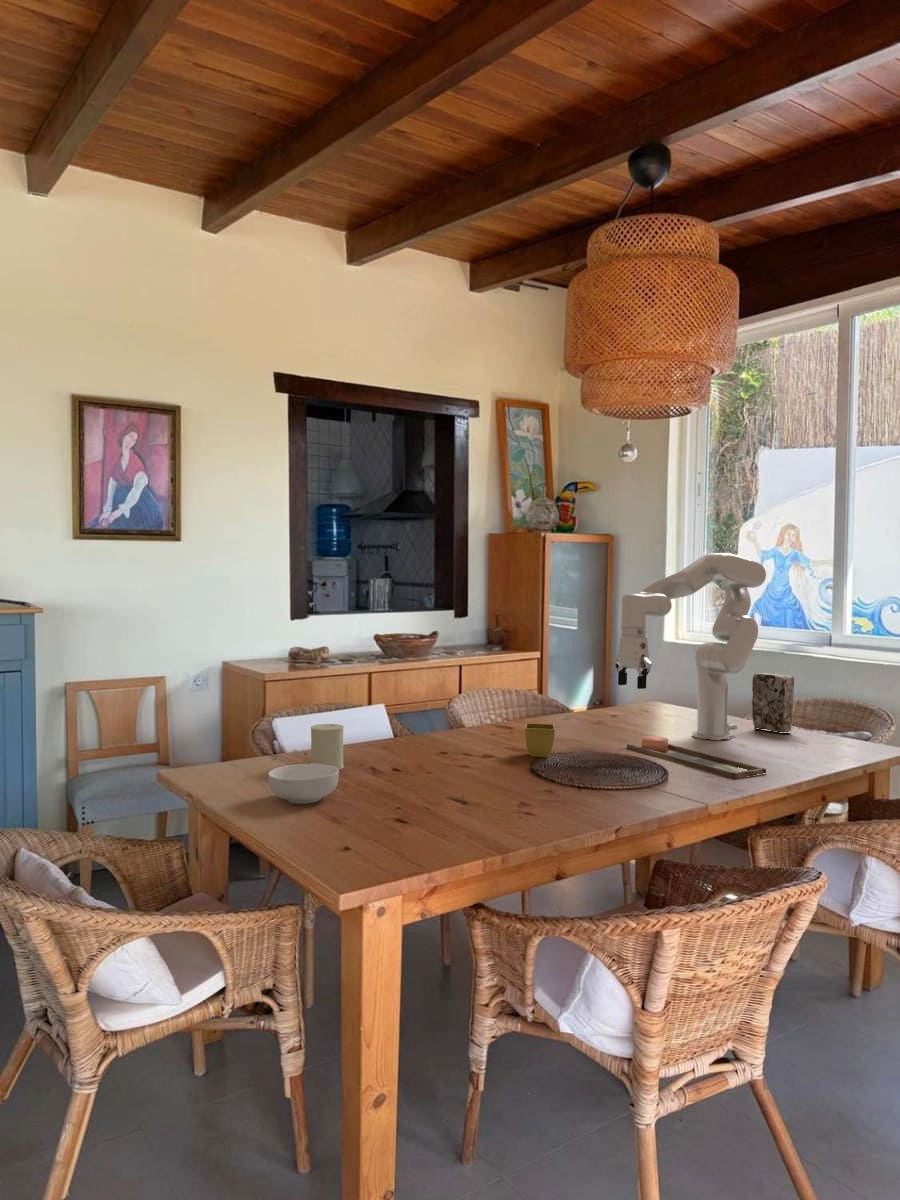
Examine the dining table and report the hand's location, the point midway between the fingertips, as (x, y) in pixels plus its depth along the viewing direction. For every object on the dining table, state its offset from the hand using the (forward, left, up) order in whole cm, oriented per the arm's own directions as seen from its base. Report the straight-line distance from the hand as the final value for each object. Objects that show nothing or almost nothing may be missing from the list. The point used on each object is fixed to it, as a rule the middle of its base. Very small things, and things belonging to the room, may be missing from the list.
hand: (631, 686), depth 282 cm
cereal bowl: (+115, +16, -19) cm, 118 cm away
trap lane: (0, +27, -19) cm, 33 cm away
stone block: (-58, +5, -19) cm, 61 cm away
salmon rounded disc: (0, +11, -18) cm, 21 cm away
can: (+98, -13, -19) cm, 101 cm away
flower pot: (+36, +1, -19) cm, 41 cm away
